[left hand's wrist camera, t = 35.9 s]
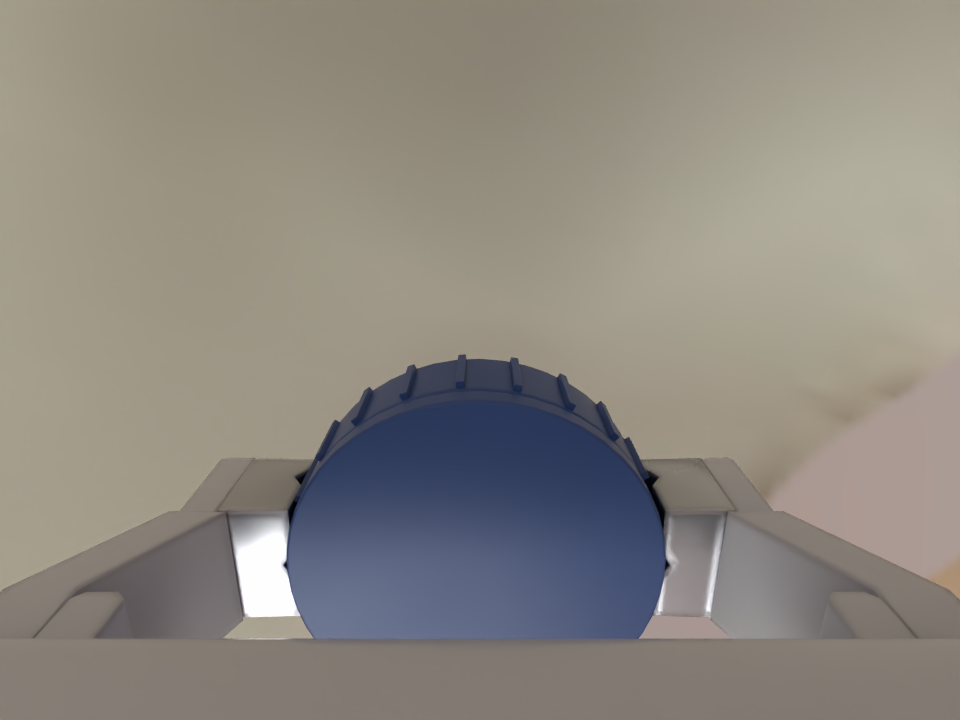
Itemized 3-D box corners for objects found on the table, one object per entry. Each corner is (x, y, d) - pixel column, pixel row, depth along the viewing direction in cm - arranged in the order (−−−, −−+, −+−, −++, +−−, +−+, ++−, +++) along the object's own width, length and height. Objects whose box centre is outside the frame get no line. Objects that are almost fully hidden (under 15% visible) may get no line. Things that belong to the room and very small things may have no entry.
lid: (242, 452, 10) (199, 510, 8) (551, 288, 9) (565, 319, 7) (418, 680, 11) (408, 763, 10) (694, 562, 10) (731, 634, 9)
